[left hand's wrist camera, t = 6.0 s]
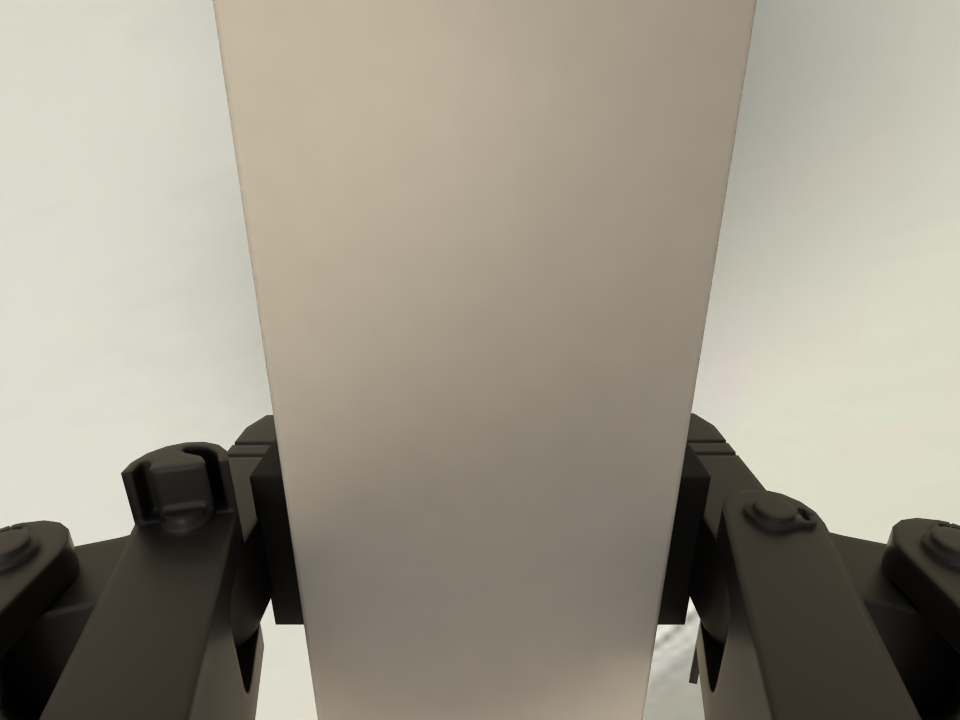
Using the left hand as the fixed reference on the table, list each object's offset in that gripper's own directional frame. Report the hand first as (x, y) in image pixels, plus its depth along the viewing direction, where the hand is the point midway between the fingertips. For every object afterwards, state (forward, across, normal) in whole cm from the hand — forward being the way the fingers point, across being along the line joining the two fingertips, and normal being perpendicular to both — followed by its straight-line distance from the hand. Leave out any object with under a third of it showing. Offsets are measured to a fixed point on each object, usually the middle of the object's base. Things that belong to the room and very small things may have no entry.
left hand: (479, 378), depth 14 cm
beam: (+1, 0, -23) cm, 23 cm away
